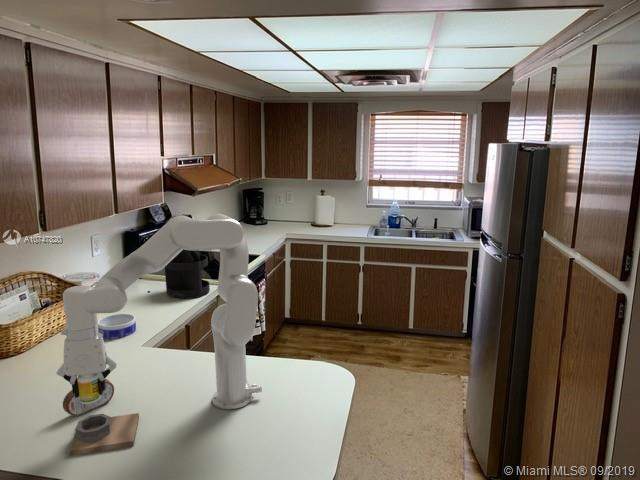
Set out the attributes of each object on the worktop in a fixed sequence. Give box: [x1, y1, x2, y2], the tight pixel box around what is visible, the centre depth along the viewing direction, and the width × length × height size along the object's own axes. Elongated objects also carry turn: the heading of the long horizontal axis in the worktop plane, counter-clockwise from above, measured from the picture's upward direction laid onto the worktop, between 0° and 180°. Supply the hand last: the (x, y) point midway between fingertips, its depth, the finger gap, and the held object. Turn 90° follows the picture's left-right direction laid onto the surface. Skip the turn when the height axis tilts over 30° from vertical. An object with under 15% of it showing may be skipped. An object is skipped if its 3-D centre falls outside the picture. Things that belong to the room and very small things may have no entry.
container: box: [164, 249, 211, 299], centre depth 258 cm, size 22×23×25 cm
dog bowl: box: [97, 312, 137, 340], centre depth 207 cm, size 15×15×6 cm
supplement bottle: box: [77, 373, 101, 404], centre depth 131 cm, size 5×5×10 cm
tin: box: [62, 378, 115, 417], centre depth 147 cm, size 15×3×8 cm, turn 141°
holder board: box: [68, 412, 140, 457], centre depth 134 cm, size 16×14×4 cm
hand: (89, 393), depth 131 cm, fingers closed on supplement bottle, 5 cm apart
